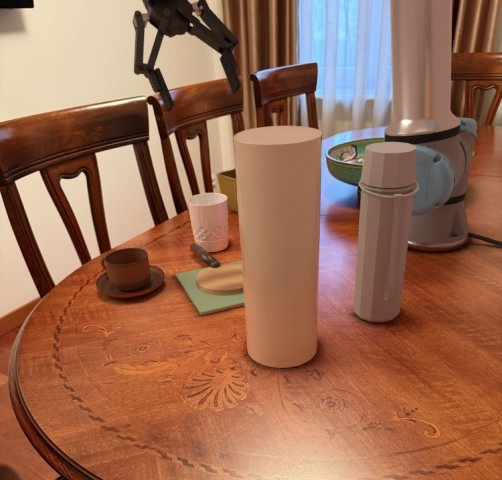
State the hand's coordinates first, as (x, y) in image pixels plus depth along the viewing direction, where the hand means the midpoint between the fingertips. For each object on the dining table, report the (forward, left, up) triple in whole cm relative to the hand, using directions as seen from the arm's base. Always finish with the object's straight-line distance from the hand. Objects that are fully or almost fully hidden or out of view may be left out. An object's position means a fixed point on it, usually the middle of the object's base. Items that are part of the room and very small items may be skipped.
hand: (204, 98), depth 94 cm
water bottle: (-35, +23, -28) cm, 50 cm away
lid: (-5, +14, -27) cm, 31 cm away
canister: (-23, +35, -28) cm, 50 cm away
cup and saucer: (+8, +23, -28) cm, 37 cm away
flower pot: (+2, -21, -28) cm, 35 cm away
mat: (-9, +18, -28) cm, 34 cm away
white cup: (+1, +2, -28) cm, 28 cm away
